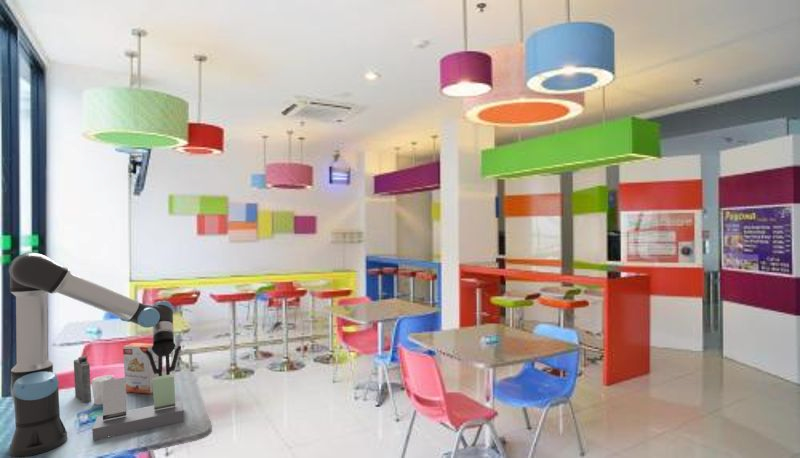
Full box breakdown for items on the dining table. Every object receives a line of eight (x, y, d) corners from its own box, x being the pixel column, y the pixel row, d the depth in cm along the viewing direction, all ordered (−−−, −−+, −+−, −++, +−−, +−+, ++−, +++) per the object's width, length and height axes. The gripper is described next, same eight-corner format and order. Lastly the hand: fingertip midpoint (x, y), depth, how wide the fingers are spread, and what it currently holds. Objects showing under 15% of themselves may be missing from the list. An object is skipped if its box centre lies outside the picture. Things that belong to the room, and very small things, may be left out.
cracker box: (124, 392, 199) (122, 345, 199) (136, 387, 205) (133, 342, 205) (149, 394, 195) (147, 346, 195) (160, 389, 201) (158, 343, 201)
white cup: (119, 398, 193) (118, 374, 193) (105, 405, 185) (104, 381, 185) (102, 398, 194) (101, 375, 194) (88, 405, 186) (86, 381, 186)
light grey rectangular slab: (103, 420, 160) (103, 381, 165) (126, 415, 163) (126, 378, 168) (102, 419, 159) (103, 381, 164) (125, 415, 162) (125, 377, 167)
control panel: (97, 427, 164) (97, 416, 164) (182, 409, 177) (182, 399, 177) (92, 440, 153) (92, 429, 153) (183, 421, 166) (183, 410, 166)
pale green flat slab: (154, 407, 168) (152, 377, 164) (175, 403, 171) (173, 373, 167) (154, 410, 167) (152, 380, 163) (175, 406, 170) (173, 376, 166)
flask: (84, 393, 201) (82, 353, 201) (94, 400, 191) (92, 358, 191) (74, 395, 198) (72, 355, 198) (84, 403, 189) (82, 360, 188)
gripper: (181, 337, 190) (183, 389, 176) (146, 342, 185) (145, 396, 170) (180, 327, 186) (183, 379, 171) (144, 332, 180) (143, 386, 165)
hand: (164, 387), depth 170 cm, fingers closed
